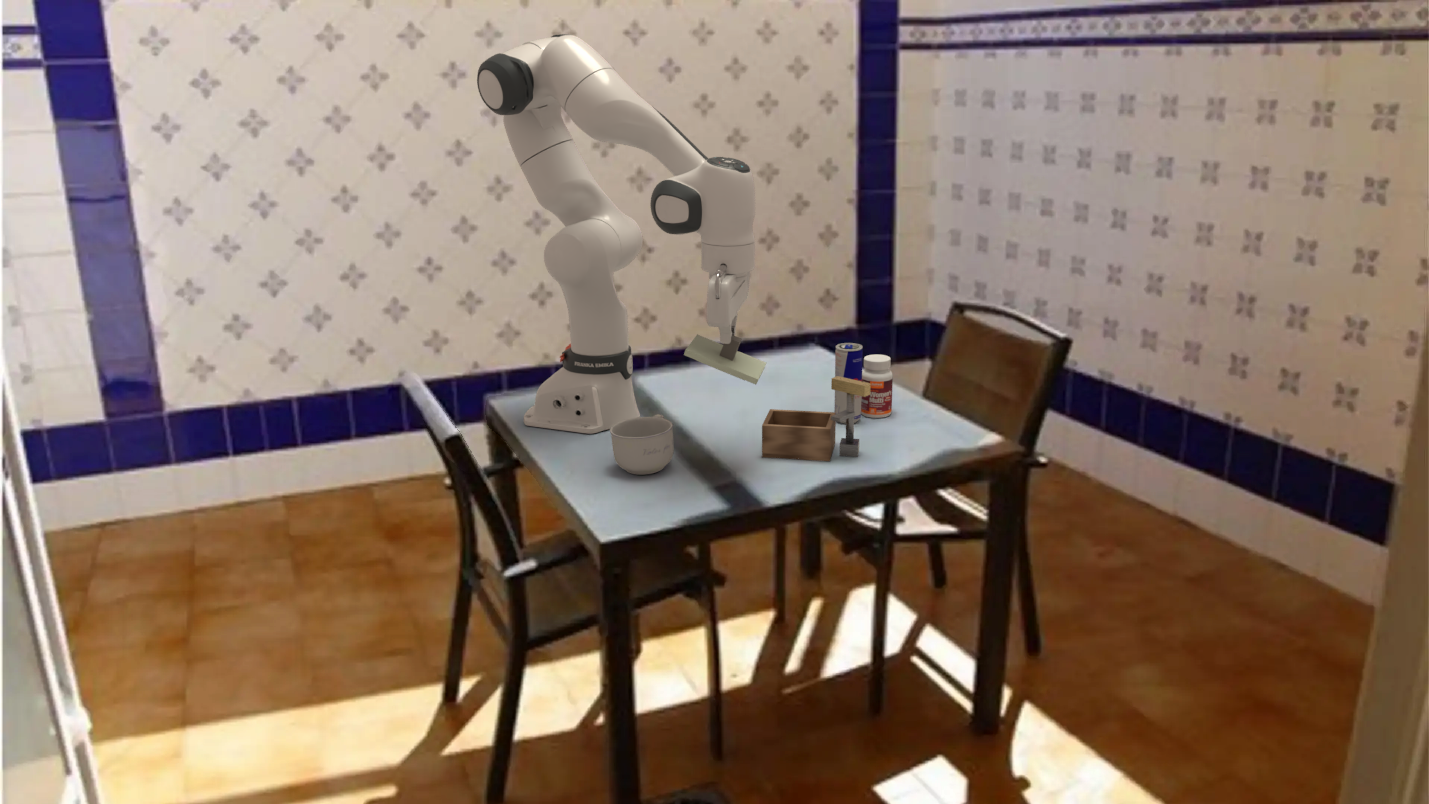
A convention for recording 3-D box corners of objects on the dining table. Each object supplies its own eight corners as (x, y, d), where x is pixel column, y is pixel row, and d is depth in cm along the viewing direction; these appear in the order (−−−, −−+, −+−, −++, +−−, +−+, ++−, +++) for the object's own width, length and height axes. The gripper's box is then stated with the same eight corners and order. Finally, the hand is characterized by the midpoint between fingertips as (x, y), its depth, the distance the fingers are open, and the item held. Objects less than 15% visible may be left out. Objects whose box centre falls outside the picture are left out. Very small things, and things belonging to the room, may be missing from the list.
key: (851, 452, 205) (852, 390, 202) (818, 443, 210) (819, 383, 206) (868, 444, 209) (870, 383, 205) (836, 435, 213) (837, 376, 210)
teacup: (650, 484, 199) (649, 440, 196) (599, 472, 204) (597, 429, 202) (695, 458, 210) (694, 416, 208) (645, 448, 216) (644, 406, 213)
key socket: (839, 455, 210) (839, 444, 209) (841, 449, 213) (841, 438, 212) (857, 456, 209) (857, 445, 209) (859, 450, 212) (859, 439, 212)
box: (762, 457, 210) (762, 425, 208) (770, 440, 218) (770, 409, 217) (829, 461, 208) (830, 429, 206) (835, 443, 216) (835, 412, 214)
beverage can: (859, 425, 225) (861, 349, 220) (832, 424, 226) (834, 348, 221) (862, 416, 230) (863, 342, 225) (835, 415, 231) (836, 341, 226)
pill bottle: (869, 420, 228) (871, 364, 224) (854, 411, 233) (855, 355, 230) (897, 416, 230) (899, 359, 226) (881, 406, 235) (882, 352, 232)
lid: (682, 359, 197) (692, 330, 195) (693, 343, 206) (704, 316, 205) (754, 389, 196) (765, 360, 195) (762, 371, 206) (773, 344, 204)
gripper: (736, 272, 185) (736, 357, 190) (756, 247, 204) (755, 325, 209) (697, 271, 186) (697, 355, 191) (720, 246, 205) (720, 323, 210)
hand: (727, 339), depth 200 cm, fingers closed on lid, 2 cm apart
